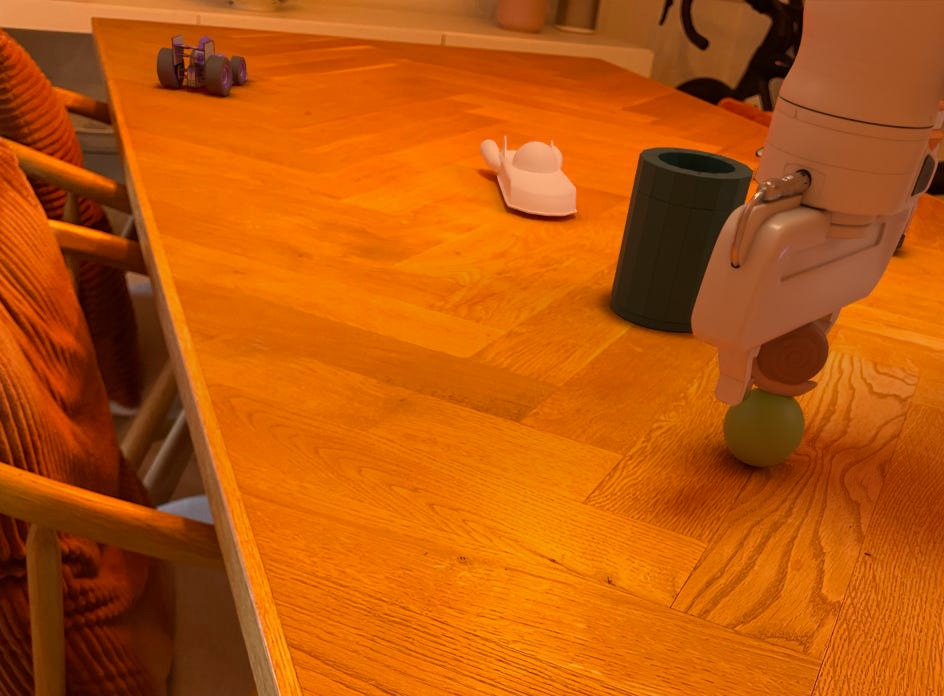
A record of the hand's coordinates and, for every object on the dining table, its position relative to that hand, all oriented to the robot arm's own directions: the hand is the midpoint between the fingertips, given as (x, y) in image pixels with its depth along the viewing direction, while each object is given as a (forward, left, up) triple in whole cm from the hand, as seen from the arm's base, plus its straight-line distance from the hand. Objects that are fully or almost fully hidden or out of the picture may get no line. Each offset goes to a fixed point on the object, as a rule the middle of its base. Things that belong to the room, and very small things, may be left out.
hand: (764, 383), depth 67 cm
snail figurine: (0, 0, -6) cm, 6 cm away
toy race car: (+111, -38, -6) cm, 118 cm away
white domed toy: (+51, -39, -6) cm, 64 cm away
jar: (+20, -20, -6) cm, 29 cm away
